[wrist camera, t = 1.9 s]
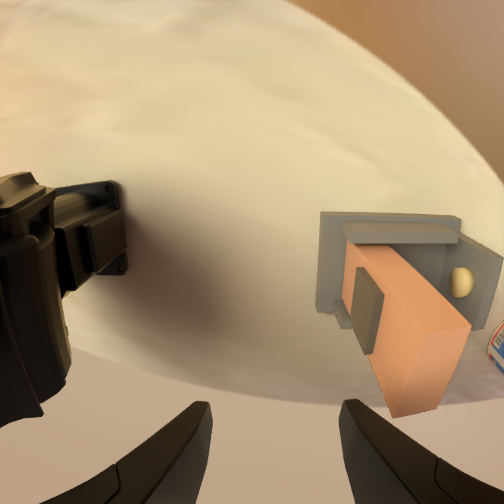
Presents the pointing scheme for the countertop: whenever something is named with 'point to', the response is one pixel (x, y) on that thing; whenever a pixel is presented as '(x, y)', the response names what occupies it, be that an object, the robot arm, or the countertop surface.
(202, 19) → the countertop surface
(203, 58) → the countertop surface
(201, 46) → the countertop surface
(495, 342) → the pill bottle
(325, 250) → the switch base
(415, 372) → the orange tall block
